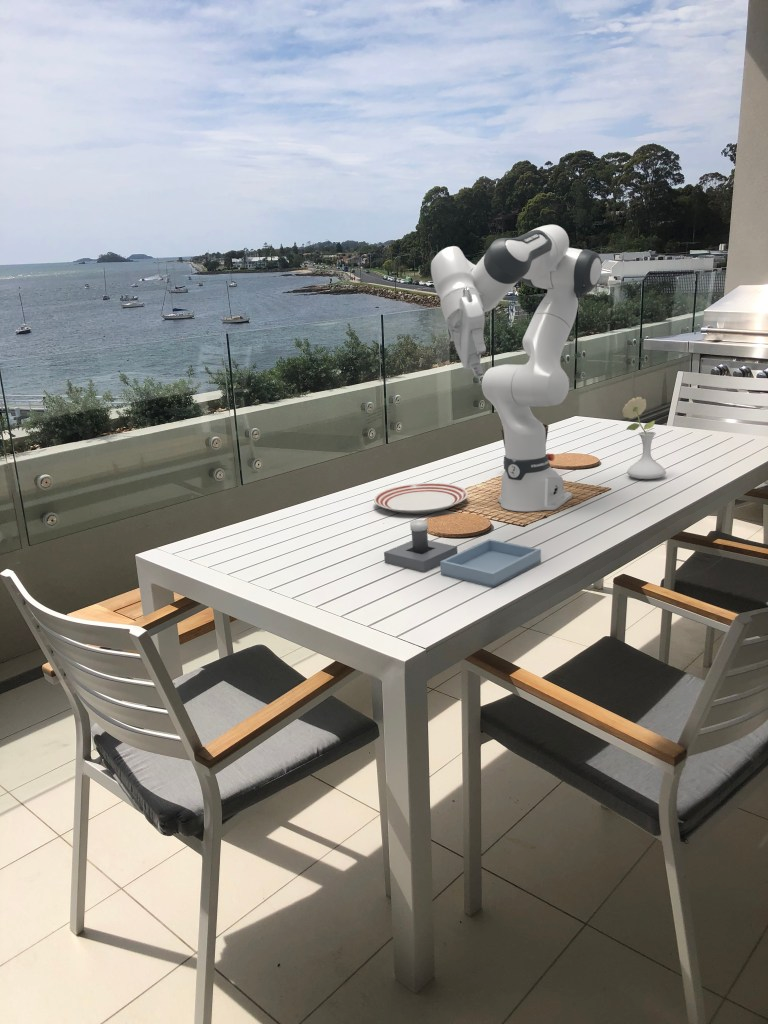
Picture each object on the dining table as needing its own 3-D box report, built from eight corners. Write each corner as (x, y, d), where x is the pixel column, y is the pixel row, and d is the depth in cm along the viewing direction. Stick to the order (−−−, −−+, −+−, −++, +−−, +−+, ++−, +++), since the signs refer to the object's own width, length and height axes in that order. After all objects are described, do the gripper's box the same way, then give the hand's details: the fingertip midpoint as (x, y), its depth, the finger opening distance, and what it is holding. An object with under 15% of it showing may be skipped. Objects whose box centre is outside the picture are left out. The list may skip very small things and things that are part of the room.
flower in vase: (660, 472, 237) (663, 392, 231) (670, 481, 227) (672, 397, 220) (617, 474, 239) (618, 395, 232) (625, 483, 228) (626, 400, 221)
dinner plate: (463, 518, 206) (462, 506, 205) (365, 519, 212) (364, 508, 211) (472, 492, 232) (472, 481, 231) (385, 494, 237) (384, 483, 237)
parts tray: (489, 551, 178) (489, 539, 177) (540, 562, 169) (540, 549, 168) (440, 574, 166) (440, 561, 165) (493, 587, 156) (492, 573, 156)
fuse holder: (418, 547, 184) (418, 538, 183) (457, 556, 176) (457, 546, 175) (384, 562, 176) (384, 552, 175) (424, 572, 168) (423, 561, 167)
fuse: (420, 555, 179) (417, 519, 176) (433, 558, 176) (431, 521, 174) (409, 560, 176) (406, 523, 174) (422, 563, 173) (419, 526, 171)
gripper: (480, 278, 158) (498, 333, 154) (475, 333, 178) (491, 384, 173) (450, 285, 158) (468, 340, 153) (448, 340, 177) (464, 390, 173)
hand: (480, 364), depth 163 cm, fingers open, 8 cm apart
